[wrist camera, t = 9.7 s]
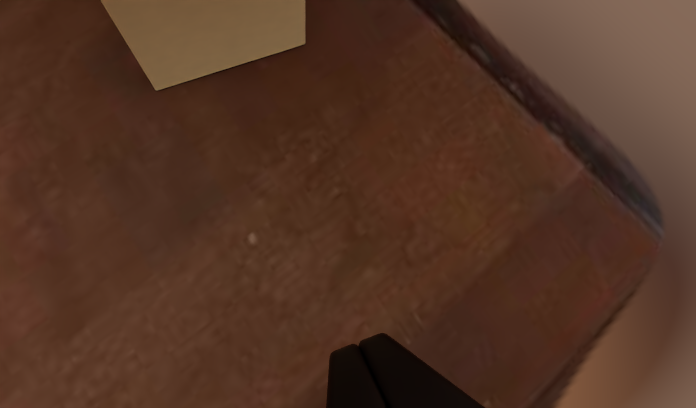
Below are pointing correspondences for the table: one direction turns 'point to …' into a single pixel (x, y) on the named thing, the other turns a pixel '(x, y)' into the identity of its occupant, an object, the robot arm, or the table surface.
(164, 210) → the table surface
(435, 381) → the robot arm
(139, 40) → the cake slice
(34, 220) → the table surface
